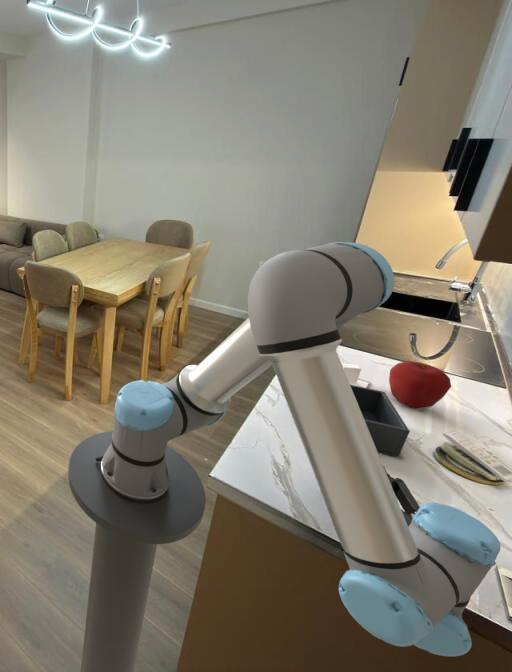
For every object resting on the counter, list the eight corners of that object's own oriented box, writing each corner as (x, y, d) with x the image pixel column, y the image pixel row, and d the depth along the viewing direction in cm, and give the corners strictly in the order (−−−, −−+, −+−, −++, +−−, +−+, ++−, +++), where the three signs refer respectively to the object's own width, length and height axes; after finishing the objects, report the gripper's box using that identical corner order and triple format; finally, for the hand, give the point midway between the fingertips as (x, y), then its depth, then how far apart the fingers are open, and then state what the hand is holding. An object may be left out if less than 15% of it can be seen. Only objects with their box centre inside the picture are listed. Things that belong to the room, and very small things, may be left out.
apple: (442, 406, 113) (461, 366, 108) (434, 422, 106) (453, 380, 102) (386, 386, 122) (401, 348, 117) (375, 400, 115) (391, 361, 111)
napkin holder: (301, 375, 128) (305, 360, 126) (311, 363, 134) (315, 349, 132) (361, 397, 117) (367, 380, 115) (369, 383, 124) (374, 367, 122)
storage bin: (309, 434, 103) (317, 409, 100) (298, 397, 117) (305, 375, 114) (398, 457, 95) (410, 431, 92) (375, 415, 109) (384, 391, 106)
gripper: (325, 536, 70) (303, 450, 90) (453, 581, 63) (399, 477, 82) (338, 505, 68) (312, 424, 87) (472, 549, 60) (412, 449, 80)
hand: (355, 450), depth 85 cm, fingers closed on flask, 3 cm apart
